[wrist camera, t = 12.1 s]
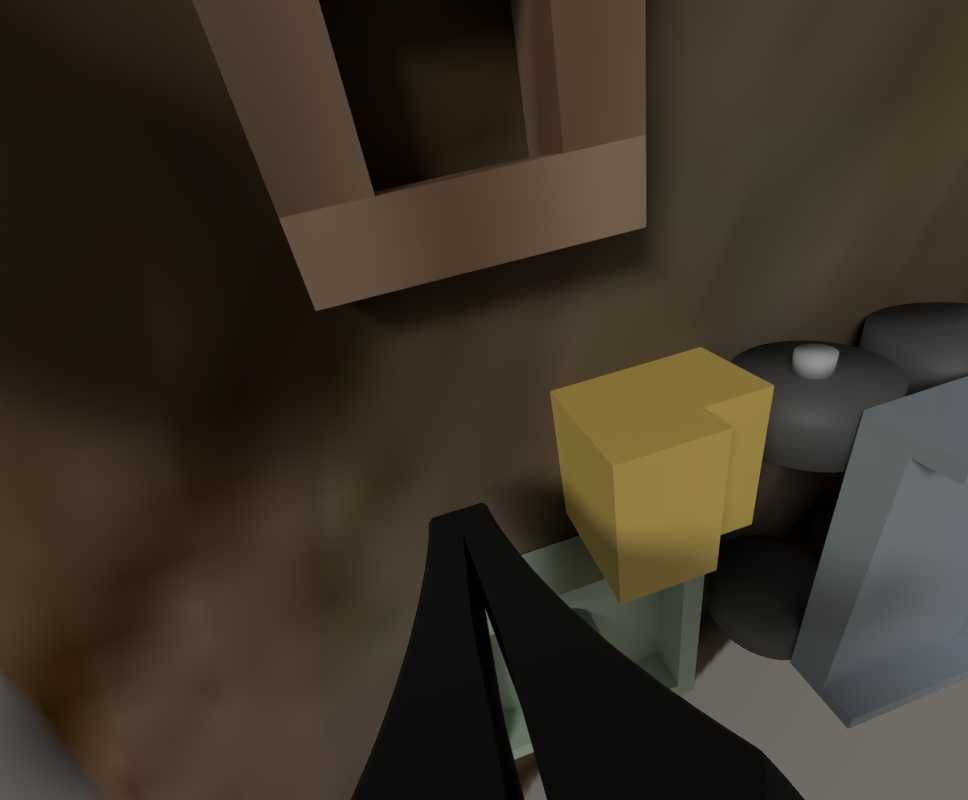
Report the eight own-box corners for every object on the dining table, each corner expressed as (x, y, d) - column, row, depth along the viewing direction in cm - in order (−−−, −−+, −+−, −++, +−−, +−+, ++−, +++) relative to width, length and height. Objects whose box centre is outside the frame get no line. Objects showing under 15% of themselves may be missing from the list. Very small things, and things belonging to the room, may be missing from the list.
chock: (697, 345, 14) (808, 403, 10) (690, 467, 16) (777, 548, 13) (548, 389, 13) (612, 466, 10) (564, 508, 16) (620, 604, 12)
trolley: (939, 275, 14) (1275, 336, 9) (854, 532, 21) (1026, 659, 15) (702, 345, 13) (923, 459, 8) (685, 593, 20) (806, 753, 14)
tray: (672, 504, 17) (707, 542, 15) (667, 646, 21) (693, 689, 19) (429, 586, 15) (436, 638, 14) (480, 717, 20) (491, 768, 18)
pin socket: (580, -212, 7) (644, -327, 6) (602, 218, 11) (646, 227, 9) (156, -159, 7) (83, -274, 5) (324, 287, 10) (315, 310, 8)
